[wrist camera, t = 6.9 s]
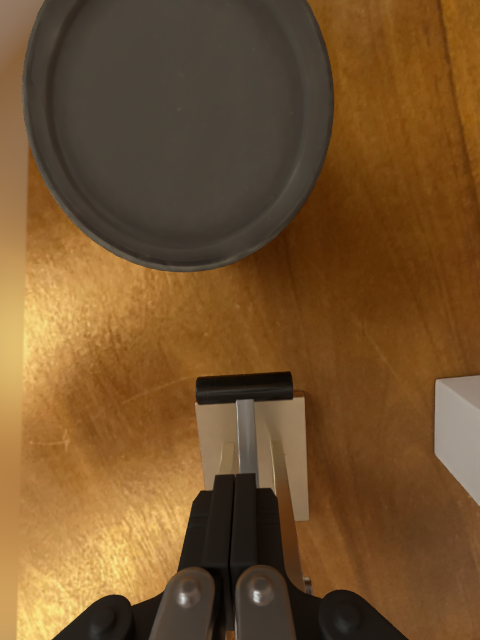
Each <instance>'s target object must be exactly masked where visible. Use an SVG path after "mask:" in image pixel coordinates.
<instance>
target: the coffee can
mask: <svg viewBox="0 0 480 640" xmlns="http://www.w3.org/2000/svg"><path fill="white" fill-rule="evenodd" d="M22 102H23V113H24V120H25V125H26V131H27V135H28V140H29V144H30V147H31V151H32V154H33V157H34V159H35V162H36V164H37V167H38V169H39V171H40V174H41V176H42V178H43V180H44V182H45V184H46V186H47V187H48V189H49V191H50V192H51V194H52V195H53V197H54V199H55V200H56V202H57V203H58V205H59V206H60V207H61V208H62V210H63V211H64V212H65V214H66V215H67V216H68V217H69V218H70V219H71V220H72V221H73V223H74V224H75V225H76V226H77V227H78V228H79V229H80V230H81V231H82V232H84V233H85V234H86V235H87V236H88V237H89V238H91V239H92V240H93V241H94V242H96V243H97V244H98V245H100V246H102V247H103V248H105V249H106V250H108V251H110V252H111V253H113V254H115V255H116V256H118V257H121V258H123V259H125V260H128V261H130V262H132V263H135V264H138V265H141V266H144V267H147V268H151V269H156V270H161V271H171V272H196V271H205V270H211V269H215V268H219V267H223V266H226V265H229V264H232V263H235V262H237V261H239V260H241V259H243V258H245V257H247V256H249V255H250V254H252V253H254V252H256V251H257V250H259V249H261V248H262V247H263V246H265V245H266V244H268V243H269V242H270V241H272V240H273V239H274V238H275V237H276V236H277V235H279V234H280V233H281V231H282V230H283V229H284V228H285V227H286V226H287V225H288V224H289V223H290V222H291V221H292V220H293V218H294V217H295V216H296V215H297V213H298V212H299V211H300V209H301V208H302V206H303V205H304V203H305V202H306V200H307V198H308V197H309V195H310V193H311V191H312V189H313V188H314V185H315V183H316V181H317V179H318V177H319V175H320V172H321V169H322V167H323V164H324V161H325V157H326V154H327V150H328V146H329V142H330V138H331V133H332V124H333V114H334V90H333V79H332V72H331V66H330V61H329V56H328V53H327V49H326V45H325V42H324V39H323V36H322V33H321V30H320V28H319V25H318V23H317V20H316V18H315V16H314V14H313V12H312V10H311V7H310V6H309V4H308V2H307V1H306V0H45V1H44V3H43V5H42V7H41V8H40V10H39V12H38V14H37V17H36V20H35V23H34V26H33V28H32V32H31V34H30V38H29V42H28V47H27V51H26V55H25V61H24V68H23V79H22Z"/></svg>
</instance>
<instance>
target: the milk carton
mask: <svg viewBox="0 0 480 640" xmlns="http://www.w3.org/2000/svg"><path fill="white" fill-rule="evenodd" d="M435 455H436V456H437V457H438V458H439V460H440V461H441V462H442V463H443V464H444V465H445V467H446V468H447V469H448V470H449V471H450V472H451V473H452V475H453V476H454V477H455V478H456V479H457V480H458V482H459V483H460V484H461V485H462V486H463V487H464V489H465V490H466V491H467V492H468V493H469V494H470V495H471V497H472V498H473V499H474V500H475V501H476V502H477V504H478V505H479V506H480V375H477V376H466V377H456V378H445V379H437V380H436V383H435Z"/></svg>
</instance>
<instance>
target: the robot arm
mask: <svg viewBox="0 0 480 640" xmlns="http://www.w3.org/2000/svg"><path fill="white" fill-rule="evenodd" d="M235 616H236V632H237V640H408V639H407V638H406V637H405V636H404V635H403V634H402V633H401V632H400V631H398V630H397V629H396V628H395V627H394V626H393V625H392V624H391V623H390V622H389V621H388V620H386V619H385V618H384V617H383V616H382V615H381V614H380V613H379V612H378V611H377V610H376V609H375V608H373V607H372V606H371V605H370V604H369V603H368V602H367V601H366V600H365V599H363V598H362V597H361V596H359V595H358V594H356V593H354V592H351V591H348V590H335V591H332V592H330V593H328V594H327V595H326V596H325V597H324V598H323V599H321V598H318V597H315V596H312V595H309V594H307V593H304V592H303V591H301V590H299V589H298V588H297V587H296V586H295V585H294V584H293V583H292V582H291V581H290V579H289V578H288V576H287V574H286V571H285V566H284V556H283V547H282V537H281V527H280V517H279V507H278V498H277V497H276V495H275V493H274V492H273V490H272V489H271V488H257V483H256V473H241V474H236V477H235V474H221V475H215V478H214V485H213V490H206V491H200V493H199V494H198V496H197V497H196V498H195V500H194V501H193V504H192V508H191V513H190V517H189V522H188V528H187V531H186V535H185V540H184V544H183V549H182V553H181V557H180V562H179V566H178V570H177V573H176V574H175V575H174V576H173V577H172V578H171V579H170V580H169V582H168V583H167V585H166V587H165V590H164V591H163V592H162V593H161V594H159V595H157V596H156V597H154V598H151V599H149V600H146V601H144V602H141V603H138V604H136V605H133V606H131V604H130V602H129V600H128V599H127V598H125V597H124V596H121V595H108V596H105V597H103V598H101V599H99V600H97V601H96V602H94V603H93V604H92V605H90V606H89V607H88V608H87V609H86V610H85V611H84V612H83V613H81V614H80V615H79V616H78V617H77V618H76V619H75V620H74V621H72V622H71V623H70V624H69V625H68V626H67V627H66V628H64V629H63V630H62V631H61V632H60V633H59V634H58V635H57V636H55V637H54V638H53V639H52V640H225V637H226V631H235Z"/></svg>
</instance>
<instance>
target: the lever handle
mask: <svg viewBox="0 0 480 640" xmlns="http://www.w3.org/2000/svg"><path fill="white" fill-rule="evenodd" d="M196 399H197V403H198V405H216V404H233V403H236V409H237V431H238V452H239V474H241V473H256V483H257V488H260V485H259V469H258V453H257V437H256V421H255V405H254V402H268V401H286V400H293V381H292V375H291V372H290V371H286V372H270V373H254V374H237V375H221V376H205V377H198V378H197V380H196ZM235 640H237V632H236V616H235Z"/></svg>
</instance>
